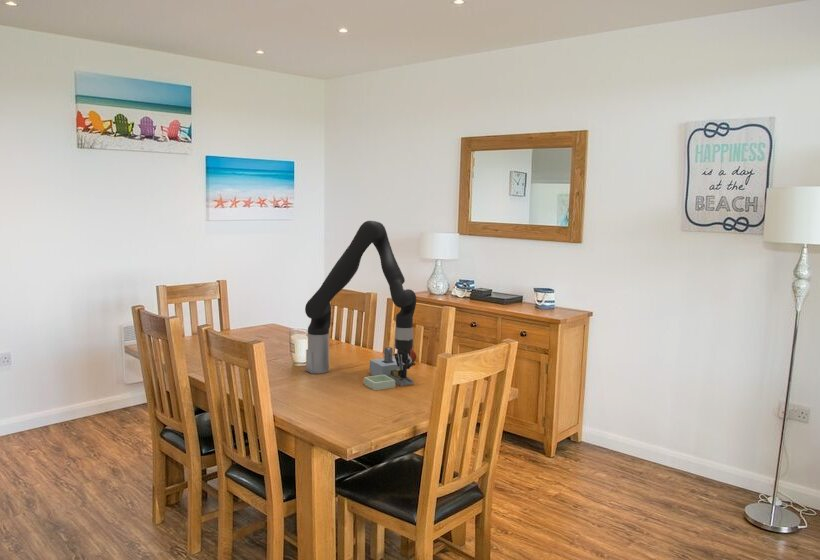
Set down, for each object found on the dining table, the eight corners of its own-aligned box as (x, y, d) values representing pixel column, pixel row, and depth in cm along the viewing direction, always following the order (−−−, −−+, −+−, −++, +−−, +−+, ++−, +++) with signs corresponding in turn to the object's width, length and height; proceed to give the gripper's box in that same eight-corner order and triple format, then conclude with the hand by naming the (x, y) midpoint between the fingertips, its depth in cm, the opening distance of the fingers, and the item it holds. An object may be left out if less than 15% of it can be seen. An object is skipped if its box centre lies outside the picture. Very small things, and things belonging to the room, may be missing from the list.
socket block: (419, 383, 272) (420, 369, 271) (394, 386, 266) (394, 372, 265) (393, 370, 291) (393, 357, 291) (369, 373, 285) (369, 359, 285)
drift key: (404, 378, 274) (404, 369, 274) (397, 379, 273) (398, 370, 272) (393, 373, 282) (394, 364, 281) (387, 374, 280) (387, 365, 280)
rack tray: (374, 390, 260) (374, 383, 260) (363, 384, 268) (363, 377, 268) (395, 387, 265) (395, 380, 265) (384, 381, 273) (384, 374, 273)
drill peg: (386, 376, 281) (386, 349, 279) (382, 374, 284) (382, 347, 282) (393, 375, 283) (394, 348, 281) (389, 373, 286) (390, 346, 284)
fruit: (405, 367, 297) (405, 350, 296) (393, 363, 304) (393, 346, 303) (420, 364, 302) (420, 347, 301) (408, 360, 309) (408, 344, 308)
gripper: (388, 335, 273) (388, 375, 275) (404, 341, 262) (403, 383, 264) (404, 333, 277) (403, 373, 279) (419, 339, 265) (419, 380, 267)
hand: (403, 377), depth 271 cm, fingers closed
